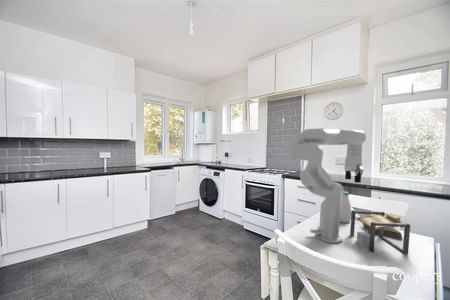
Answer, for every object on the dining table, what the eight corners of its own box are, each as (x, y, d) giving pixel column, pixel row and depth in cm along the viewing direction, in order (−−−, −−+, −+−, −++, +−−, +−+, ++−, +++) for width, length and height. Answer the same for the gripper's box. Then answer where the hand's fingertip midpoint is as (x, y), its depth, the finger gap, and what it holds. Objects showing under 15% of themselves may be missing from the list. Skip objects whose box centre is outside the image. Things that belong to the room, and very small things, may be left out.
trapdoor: (373, 229, 98) (372, 224, 97) (357, 219, 111) (356, 214, 110) (406, 225, 97) (405, 220, 97) (386, 215, 110) (385, 211, 110)
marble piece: (402, 240, 110) (403, 233, 110) (372, 236, 113) (373, 229, 113) (385, 227, 126) (386, 221, 126) (359, 224, 129) (360, 218, 129)
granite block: (372, 246, 102) (362, 245, 102) (366, 241, 107) (356, 240, 107) (373, 236, 102) (363, 236, 102) (366, 232, 107) (357, 231, 107)
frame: (370, 252, 96) (372, 223, 95) (350, 235, 113) (351, 210, 113) (408, 254, 95) (410, 224, 94) (381, 236, 112) (383, 211, 112)
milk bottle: (351, 224, 129) (353, 194, 128) (337, 222, 132) (339, 192, 131) (348, 219, 136) (350, 191, 135) (336, 218, 139) (337, 190, 138)
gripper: (340, 151, 127) (338, 177, 128) (356, 153, 110) (354, 183, 110) (352, 151, 126) (350, 178, 127) (370, 153, 109) (368, 184, 110)
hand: (352, 180), depth 119 cm, fingers open, 9 cm apart
